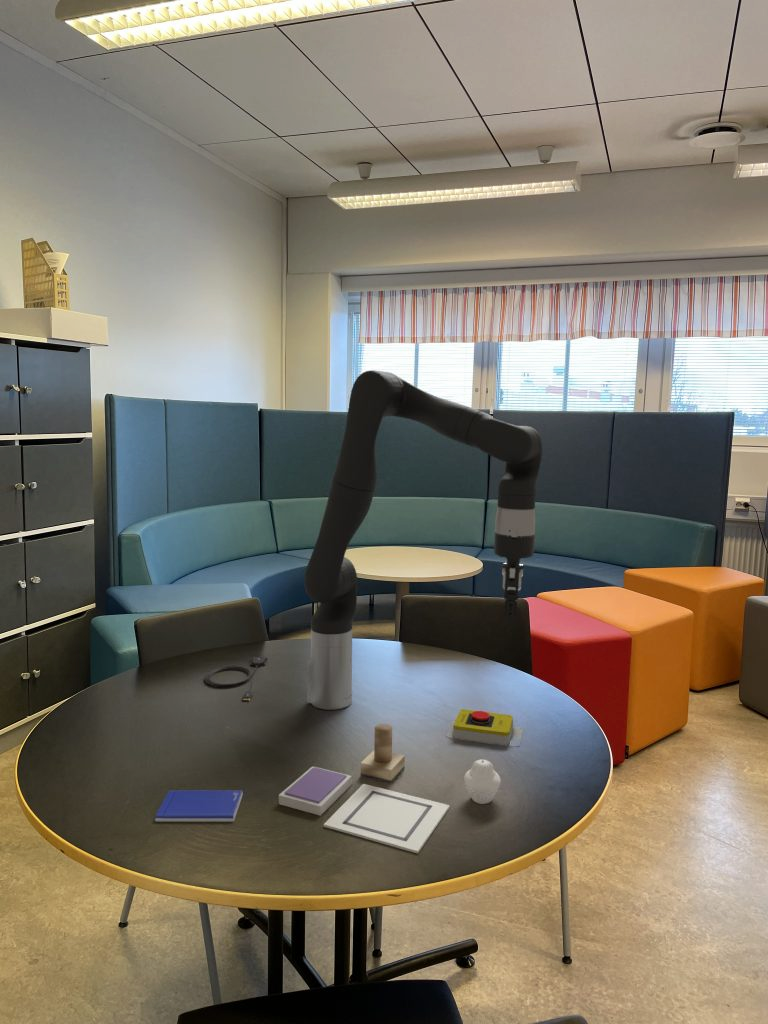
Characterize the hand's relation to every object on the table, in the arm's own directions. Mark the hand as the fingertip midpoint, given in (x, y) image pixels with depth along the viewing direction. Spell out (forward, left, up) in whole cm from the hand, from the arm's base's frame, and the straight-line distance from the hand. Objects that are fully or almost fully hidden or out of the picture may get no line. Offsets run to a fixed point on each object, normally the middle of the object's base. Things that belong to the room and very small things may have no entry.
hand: (510, 613), depth 137 cm
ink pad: (-24, -33, -27) cm, 49 cm away
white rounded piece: (+2, -22, -27) cm, 35 cm away
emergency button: (-5, +3, -28) cm, 28 cm away
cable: (-70, +5, -28) cm, 76 cm away
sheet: (-10, -34, -27) cm, 44 cm away
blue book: (-39, -45, -28) cm, 66 cm away
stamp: (-17, -21, -27) cm, 38 cm away
